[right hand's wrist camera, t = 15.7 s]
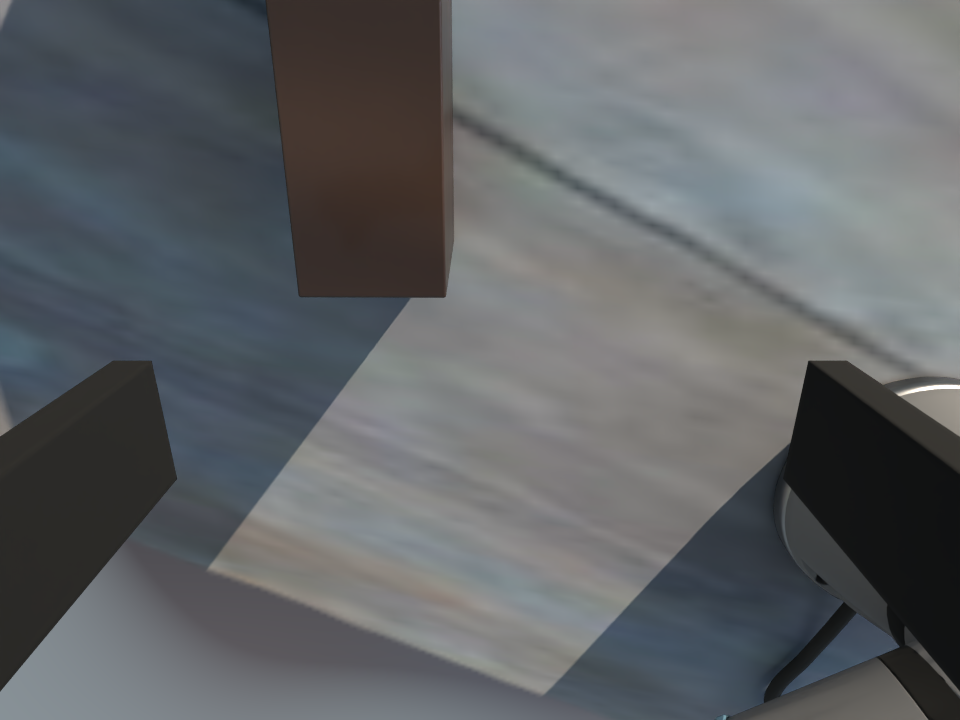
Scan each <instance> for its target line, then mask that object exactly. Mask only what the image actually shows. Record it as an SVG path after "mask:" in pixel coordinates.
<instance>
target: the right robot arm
mask: <svg viewBox="0 0 960 720" xmlns="http://www.w3.org/2000/svg"><path fill="white" fill-rule="evenodd" d="M176 479H177V476H176V472H175V467H174V463H173V458H172V453H171V449H170V444H169V439H168V435H167V430H166V426H165V421H164V416H163V412H162V407H161V402H160V398H159V393H158V389H157V384H156V379H155V375H154V370H153V365H152V361H112V362H111V363H109V364H108V365H106V366H105V367H103V368H102V369H100V370H99V371H97V372H96V373H94V374H93V375H91V376H90V377H88V378H87V379H85V380H84V381H82V382H81V383H79V384H78V385H76V386H75V387H73V388H72V389H70V390H69V391H67V392H66V393H64V394H63V395H61V396H60V397H59V398H57V399H56V400H54V401H53V402H51V403H50V404H48V405H47V406H45V407H44V408H42V409H41V410H39V411H38V412H36V413H35V414H33V415H32V416H30V417H29V418H27V419H26V420H24V421H23V422H21V423H20V424H18V425H17V426H15V427H14V428H12V429H11V430H9V431H8V432H6V433H5V434H3V435H2V436H0V691H1V690H2V689H3V687H4V686H5V685H6V684H7V683H8V681H9V680H10V679H11V678H12V677H13V675H14V674H15V673H16V672H17V671H18V669H19V668H20V667H21V666H22V665H23V663H24V662H25V661H26V660H27V659H28V657H29V656H30V655H31V654H32V653H33V651H34V650H35V649H36V648H37V647H38V645H39V644H40V643H41V642H42V641H43V639H44V638H45V637H46V636H47V635H48V633H49V632H50V631H51V630H52V629H53V627H54V626H55V625H56V624H57V623H58V621H59V620H60V619H61V618H62V617H63V615H64V614H65V613H66V612H67V610H68V609H69V608H70V607H71V606H72V605H73V603H74V602H75V601H76V600H77V598H78V597H79V596H80V595H81V594H82V593H83V591H84V590H85V589H86V588H87V586H88V585H89V584H90V583H91V582H92V580H93V579H94V578H95V577H96V576H97V574H98V573H99V572H100V571H101V570H102V568H103V567H104V566H105V565H106V564H107V562H108V561H109V560H110V559H111V558H112V556H113V555H114V554H115V553H116V552H117V550H118V549H119V548H120V547H121V546H122V544H123V543H124V542H125V541H126V540H127V538H128V537H129V536H130V535H131V534H132V532H133V531H134V530H135V529H136V528H137V526H138V525H139V524H140V523H141V522H142V520H143V519H144V518H145V517H146V516H147V514H148V513H149V512H150V511H151V510H152V508H153V507H154V506H155V505H156V504H157V502H158V501H159V500H160V499H161V498H162V496H163V495H164V494H165V493H166V492H167V490H168V489H169V488H170V487H171V485H172V484H173V483H174V482H175V481H176ZM774 520H775V525H776V529H777V532H778V534H779V537H780V539H781V541H782V543H783V545H784V546H785V548H786V549H787V551H788V552H789V553H790V555H791V556H792V558H793V559H794V561H795V562H796V563H797V565H798V566H799V567H800V568H801V570H802V571H803V572H804V573H805V574H806V575H807V576H809V577H810V578H811V579H812V580H813V581H814V582H815V583H816V584H817V585H818V586H820V587H821V588H822V589H824V590H825V591H827V592H828V593H830V594H831V595H833V596H835V597H836V598H838V599H841V600H842V601H844V603H843V604H842V605H841V606H840V607H839V609H838V610H837V611H836V612H835V613H834V615H833V616H832V617H831V618H830V619H829V620H828V622H827V623H826V624H825V625H824V626H823V627H822V628H821V630H820V631H819V632H818V633H817V634H816V635H815V636H814V637H813V639H812V640H811V641H810V642H809V643H808V644H807V645H806V646H805V648H804V649H803V650H802V651H801V652H800V653H799V654H798V655H797V656H796V657H795V658H794V659H793V660H792V661H791V662H790V663H789V664H788V665H787V666H785V667H784V668H783V669H782V670H781V671H780V672H779V673H778V674H777V675H776V676H775V677H774V679H773V680H772V681H771V683H770V684H769V686H768V688H767V690H766V693H765V696H764V703H763V704H761V705H758V706H756V707H754V708H751V709H749V710H746V711H744V712H741V713H739V714H736V715H734V716H732V717H731V716H729V715H721V716H719V717H717V718H716V719H715V720H960V379H954V378H947V377H919V378H912V379H905V380H901V381H896V382H892V383H889V384H885V385H882V384H881V383H879V382H878V381H876V380H875V379H873V378H872V377H870V376H869V375H867V374H866V373H864V372H863V371H861V370H860V369H858V368H857V367H855V366H854V365H852V364H851V363H849V362H848V361H808V365H807V370H806V375H805V379H804V384H803V389H802V393H801V398H800V402H799V407H798V412H797V416H796V421H795V426H794V430H793V435H792V439H791V444H790V449H789V453H788V458H787V461H786V463H785V465H784V467H783V469H782V472H781V474H780V477H779V479H778V483H777V486H776V490H775V496H774ZM856 613H858V614H860V615H861V616H863V617H864V618H865V619H867V620H868V621H870V622H871V623H873V624H874V625H875V626H877V627H878V628H880V629H881V630H883V631H884V632H886V633H887V634H888V635H890V636H891V637H892V638H893V639H894V640H895V641H896V643H897V644H898V645H899V646H900V647H899V648H897V649H895V650H892V651H890V652H887V653H885V654H883V655H880V656H878V657H875V658H873V659H870V660H868V661H865V662H863V663H860V664H858V665H856V666H853V667H851V668H848V669H846V670H843V671H841V672H839V673H836V674H834V675H831V676H829V677H826V678H824V679H822V680H819V681H817V682H814V683H812V684H809V685H807V686H805V687H802V688H800V689H797V690H795V691H792V692H790V693H788V694H785V695H783V696H780V695H781V693H782V692H783V690H784V689H785V688H786V687H787V685H788V684H789V683H791V682H792V681H793V680H794V679H795V678H796V677H797V676H798V675H799V674H800V673H802V672H803V671H804V670H805V669H806V668H807V667H808V666H809V665H810V664H811V663H812V662H813V661H814V660H815V659H816V658H817V656H818V655H819V654H820V653H821V652H822V651H823V650H824V649H825V648H826V647H827V646H828V644H829V643H830V642H831V641H832V640H833V639H834V638H835V637H836V636H837V635H838V634H839V632H840V631H841V630H842V629H843V628H844V627H845V626H846V625H847V623H848V622H849V621H850V620H851V619H852V618H853V617H854V615H855V614H856Z"/></svg>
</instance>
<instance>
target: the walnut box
mask: <svg viewBox="0 0 960 720" xmlns="http://www.w3.org/2000/svg"><path fill="white" fill-rule="evenodd" d="M266 9H267V18H268V26H269V35H270V44H271V53H272V62H273V71H274V80H275V89H276V98H277V106H278V115H279V124H280V133H281V142H282V151H283V160H284V169H285V178H286V186H287V195H288V204H289V213H290V222H291V231H292V240H293V249H294V258H295V266H296V275H297V284H298V293H299V296H300V297H407V298H444V297H446V292H447V285H448V278H449V271H450V264H451V257H452V250H453V244H454V202H453V102H452V2H451V0H266Z"/></svg>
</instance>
